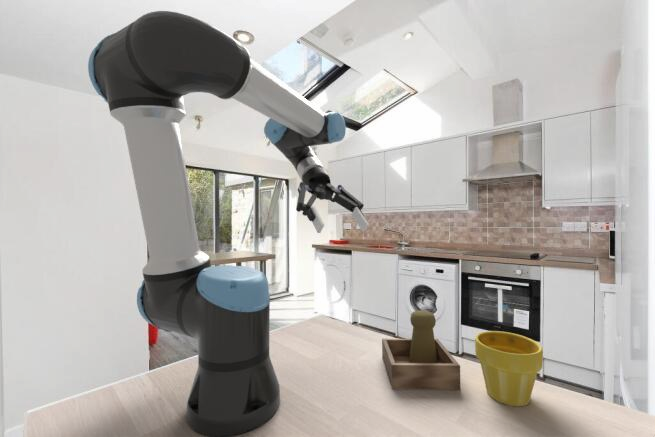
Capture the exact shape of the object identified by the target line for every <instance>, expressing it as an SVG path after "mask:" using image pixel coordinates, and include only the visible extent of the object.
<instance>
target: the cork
mask: <svg viewBox="0 0 655 437" xmlns="http://www.w3.org/2000/svg"><path fill="white" fill-rule="evenodd" d="M409 320H410V325H411V326H412V334H411V339H412V341H411V350H410V358H409V363H438V359H437V352H436V346H435V339H436V338H435V333H434V327H435V326H436V323H437V322H436V316H435V315H434V313H432V312H431V311H428V310H420V309H419V310H415V311H412V312H411V315H410V318H409Z"/></svg>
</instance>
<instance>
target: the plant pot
mask: <svg viewBox="0 0 655 437" xmlns="http://www.w3.org/2000/svg"><path fill="white" fill-rule="evenodd" d="M474 349H475V357H476V358H477V359H478V360H479V362H480V367H481V371H482V375H483V380H484V385H485V389H486V392H487V394H488V395H489V397H491V398H492V399H493V400H494V401H497V402H498V403H500V404H503V405H507V406H511V407H525V406H526V405H528V404H529V403H530V402H531V401H530V400H531V397H532V393H533V389H534V385H535V382H536V379H537V375H538V373H539V372H540V371H541V370H542V368H543V363H544V362H543V361H544V359H543V358H544V354H543V353H544V351H543V350H544V349H543V347H542V345H541V344H540V343H538V341H536V340H534V339H532V338H529V337H527V336H524V335H521V334H518V333H512V332H508V331H499V330H487V331H482V332H480V333H477V334H476V335H475V337H474Z"/></svg>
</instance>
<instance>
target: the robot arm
mask: <svg viewBox="0 0 655 437" xmlns="http://www.w3.org/2000/svg"><path fill="white" fill-rule="evenodd" d="M87 69H88V70H87V71H88V76H89V79H90V82H91V85H92V86H93V88H94V90H95V91H96V93H97V94H98V96H101V97H102V98H103V100H104V101H105V102H106V103H107V104H108V108H109V112H110V113H109V114H110V117H112V118H114V120H116V121H118V122H119V123H120V124H121V125H122V126H123V129H124V130H123V131H124V134H125V139H126V145H127V149H128V154H129V160H130V164H131V168H132V169H131V170H132V175H133V179H134V185H135V190H136V194H137V200H138V206H139V210H140V215H141V216H140V217H141V221H142V225H143V231H144V234H145V239H146V245H147V251H148V256H149V259H148V262H147V263H146V264H145V266H144V267H143V268H142V276H143V280H142V282H141V286H140V287H138V291H137V294H136V304H137V305H136V306H137V309H138V312H139V314H140V316H141V317H142V319H144V320H145V321H146V322H147V323H148V324H150V325H152V326H154V328H156V329H158V330H163V331H165V332H170V333H172V332H174V333H177V334H179V335H183V336H185V337H186V336H187V337H190V338H194V339H197V342H198V343H197V347H198V348H197V350H198V352H197V354H198V360H197V361H198V364H197V365H198V366H197V370H196V373H195V376H194V380H193V383H192V385H191V390H190V392H189V395H188V399H187V402H186V420H187V423H188V425H189V426H190V428H191V429H192V430H193V431H195V432H197V433H198V434H201V435H205V436H211V437H229V436H236V435H239V434H243V433H246V432H249V431H252V430H254V429H256V428H258V427H260V426H262V425H263V424H264V423H266V422H267V421H268V420H270V419H271V418H272V417H273V416H274V415H275V414H276V412H277V410H278V409H279V407H280V404H281V388H280V384H279V381H278V378H277V375H276V372H275V371H276V370H275V369H274V366H273V363H272V360H271V357H270V310H271V309H270V301H271V296H270V291H269V290H270V289H269V281H268V277H267V276H266V275H265V274H264V272H263V271H261V270H259V269H256V268H253V267H249V266H244V265H232V264H231V265H229V264H227V265H225V264H224V265H215V266H214V265H213V266H212V264H211V259H210V256H209V255H208V254H207V253H206V252H204V251H203V250H201V249H200V242H199V236H198V230H197V226H196V221H195V219H196V218H195V214H194V209H193V207H194V206H193V202H192V197H191V191H190V184H189V178H188V172H187V167H186V162H185V161H186V160H185V154H184V149H183V144H182V138H181V133H180V132H181V131H180V128H179V127H180V126H179V125H180V123H181V121H182V120H183V119H185V117H186V108H185V102H184V101H185V100H184V96H186V95H189V94H191V93H205V94H210V95H213V96H214V97H217V98H219V99H221V100H230V99H234V100H235V101H237V102H239V103H242V105H245V106H247V107H249V108H251V109H253V111H255V112H258V113H260V114H261V115H264V116H265V117H267V118H269V119H268V120H267V121H266V123H265V125H264V128H263V133H264V135H265V136H266V137H267V139H268V140H269V141H270V143H271V144H272V145H273V146H275V148H277V150H278V151H280V153H282V155H283V156H284V157H285V158H286V159H287V160H288V161H289V163H291V165H292V166H293V168H294V169H295V171H296V173H297V175H298V176H299V179H300V180H301V181H300V182H299V185H298V187H297V189H296V190H297V193H298V197H297V202H296V207H295V208H296V209H295V210H296V211H297V212H298V213H299V212H300V213H301V212H302V213H301V214H302V216H305V217H307V219H308V221H309V222H311V223H312V224H313V227H314V229H315V230H316V232H317V234H321V233H322V230H323V229H324V227H325V223H324V221H323V220H322V219H323V218H322V217H321V216H320V214H319V212H318V210H317V209H316V206H313V204H314V203H315V202H316V200H317V199H319V200H321V201H323V200H326V201H329V202H332V203H336V204H338V205H340V207H343V208H344V209H346V210H348V211H349V212H351V216H352V217H353V219H354V221H355V223H356V224H357V226H358V227H359V229H360V230H361V232H365V231H366V229H367V228H368V226H369V222H368V221H367V219H366V217H365V215H364V213H363V211H362V209H363V208H364V203H363V202H361V201H360V200H359V199H357V197H355V196H354V195H352V194H351V193H350V192H348V191H347V190H346V189H345V188H344V186H343V185H342V184H338V185H337V186H334V185H333V184H332V183H331V179H330V176H329V174H328V173H327V171H326V169H325V168H324V166H323V164H322V163H321V161H320V160H319V158H318V157H317V155H316V154H315V152H314V150H313V149H312V147H315V146H323V145H328V144H330V145H332V144H333V143H337V142H341V141H343V140H344V138H345V136H346V128H347V127H346V121H345V119H344V116H343V115H342V114H341V113H340V112H338V111H332V112H331V111H329V112H324V111H323V110H321V109H320V108H319V107H317V106H315V105H314V104H313V103H311V102H310V101H309V100H308V99H306V98H305V97H304V96H302V95H301V94H300V93H298V92H296V91H295V90H294V89H293V88H291V87H290V86H288V85H287V84H286V83H284V82H283V81H281V80H280V79H279V78H277V77H276V76H275V75H273V74H272V73H270V72H269V71H268V70H266V69H265V68H264V67H262V65H260V64H258V63H257V62H255V61H254V60H253V59H251V54H250V52H249V50H248V49H247V48H246V47H245V46H244V45H243V44H242V43H240V42H239V41H238V40H236V39H235V38H233V37H232V36H230V35H229V34H227V33H226V32H224V31H222V30H221V29H219V28H217V27H216V26H214V25H212V24H209V23H207V22H205V21H203V20H200V19H198V18H196V17H193V16H191V15H187V14H184V13H179V12H177V11H169V10H157V11H156V10H155V11H151V12H147V13H145V14H143V15H141V16H140V17H138V18H137V19H136V20H134V21H133V22H131V23H129V24H128V25H126V26H125V27H123V28H121V29H120V30H118V31H117V32H113V33H112V34H109V35H107V36H105V37H103V38H102V39H101V41H99V43H97V45H96V46H95V47H94V48H93V50H92V51H91V52H90V55H89V57H88V62H87ZM307 192H308V193H309V194H311V196H310V198H309V199H308V201H307V202H306V203H305V197H306V193H307Z"/></svg>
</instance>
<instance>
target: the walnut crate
mask: <svg viewBox="0 0 655 437" xmlns="http://www.w3.org/2000/svg"><path fill="white" fill-rule="evenodd" d="M434 339H435V346H436V352H437V359H438V363H409V358H410V350H411V341H412V338H381V342H382V343H381V345H382V346H381V347H382V348H381V350H382V352H381V353H382V354H381V355H382V357H381V358H382V361H383V364H384V368H385V371H386V374H387V377H388V382H389V383H390V387H391V389H392V390H426V391H427V390H431V391H432V390H434V391H435V390H449V391H453V390H454V391H461V365H460V363H458V361H457V360H456V359H455V357H454V356H453V355H452V353H451V352H450V351H449V350H448V349H447V348H446V347H445V346H444V344H443V343H442V342H441V341H440V340H439V338H434Z"/></svg>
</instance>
